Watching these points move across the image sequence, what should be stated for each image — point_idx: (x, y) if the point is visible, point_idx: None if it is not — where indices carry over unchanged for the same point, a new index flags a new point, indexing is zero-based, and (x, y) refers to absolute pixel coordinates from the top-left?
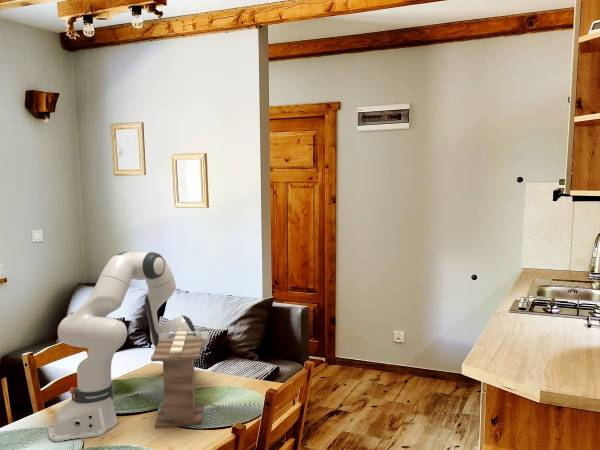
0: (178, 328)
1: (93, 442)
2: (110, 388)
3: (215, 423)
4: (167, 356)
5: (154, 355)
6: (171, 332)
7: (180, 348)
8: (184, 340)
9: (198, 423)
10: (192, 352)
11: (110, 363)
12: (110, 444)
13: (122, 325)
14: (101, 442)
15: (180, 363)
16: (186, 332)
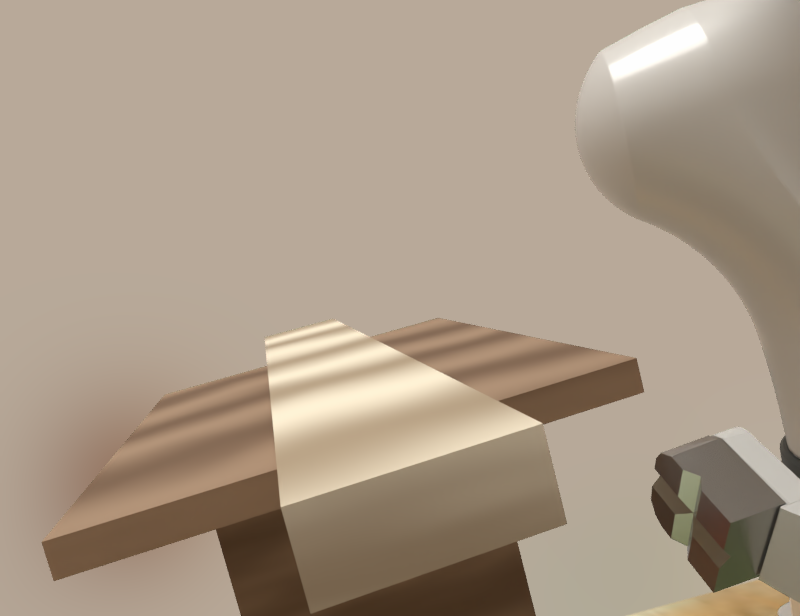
0: (527, 425)
1: (754, 591)
2: (793, 470)
3: None
4: None
5: (441, 323)
6: (680, 447)
7: (277, 340)
8: (269, 365)
9: None
10: (205, 392)
11: (761, 315)
12: (665, 605)
13: (583, 83)
14: (719, 601)
15: None
16: (280, 417)
